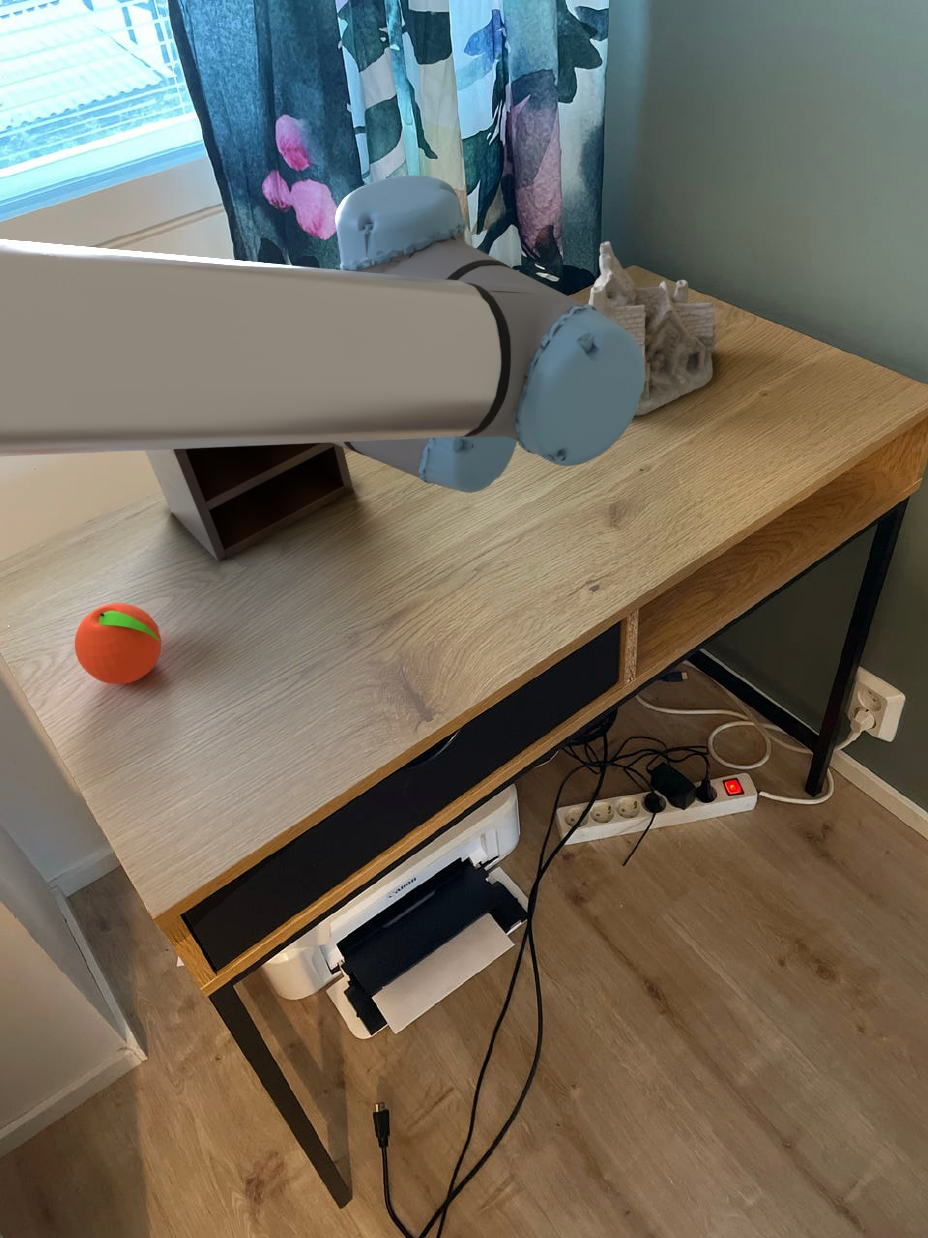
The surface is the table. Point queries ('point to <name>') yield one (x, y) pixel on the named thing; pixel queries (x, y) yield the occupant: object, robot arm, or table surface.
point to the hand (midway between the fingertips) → (151, 326)
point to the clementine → (118, 643)
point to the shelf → (248, 489)
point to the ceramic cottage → (658, 331)
